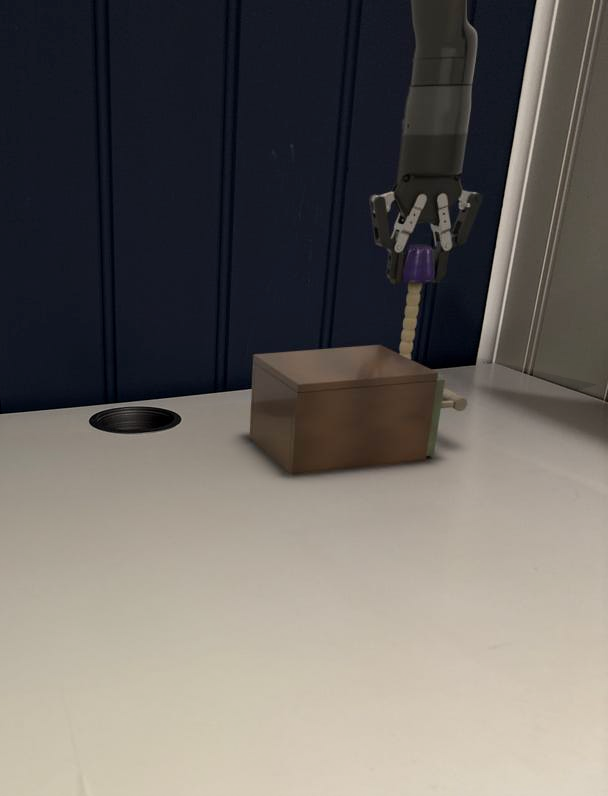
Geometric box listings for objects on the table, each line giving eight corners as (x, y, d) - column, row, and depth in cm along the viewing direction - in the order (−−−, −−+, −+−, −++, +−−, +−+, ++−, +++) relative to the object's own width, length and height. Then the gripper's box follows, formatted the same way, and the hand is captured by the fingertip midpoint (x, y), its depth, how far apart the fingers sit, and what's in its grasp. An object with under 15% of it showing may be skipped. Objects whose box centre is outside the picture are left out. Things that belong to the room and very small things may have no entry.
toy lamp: (428, 379, 124) (447, 245, 116) (404, 385, 122) (421, 249, 113) (400, 372, 128) (416, 241, 119) (377, 378, 125) (391, 245, 117)
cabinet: (370, 430, 106) (380, 344, 101) (425, 466, 95) (438, 372, 90) (248, 442, 103) (253, 354, 98) (291, 480, 93) (298, 384, 88)
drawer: (418, 420, 106) (427, 350, 102) (471, 451, 96) (484, 375, 92) (270, 434, 103) (275, 362, 99) (311, 468, 93) (317, 390, 89)
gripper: (386, 132, 106) (370, 289, 115) (506, 129, 107) (481, 285, 116) (365, 131, 113) (351, 279, 121) (479, 128, 114) (457, 275, 122)
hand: (415, 281), depth 118 cm, fingers closed on toy lamp, 4 cm apart
